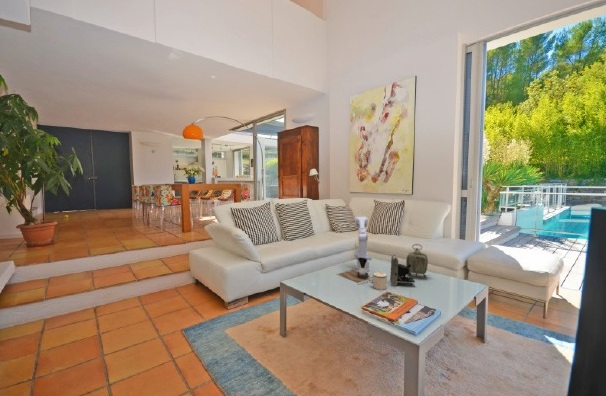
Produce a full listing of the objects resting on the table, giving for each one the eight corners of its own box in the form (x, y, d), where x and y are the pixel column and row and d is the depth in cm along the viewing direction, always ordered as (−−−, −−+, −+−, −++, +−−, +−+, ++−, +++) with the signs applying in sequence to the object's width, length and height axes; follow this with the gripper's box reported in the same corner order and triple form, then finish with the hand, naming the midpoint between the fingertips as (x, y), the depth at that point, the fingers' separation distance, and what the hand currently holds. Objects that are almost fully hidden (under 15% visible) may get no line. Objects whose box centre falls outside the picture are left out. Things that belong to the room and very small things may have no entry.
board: (352, 271, 221) (352, 269, 221) (374, 279, 204) (374, 277, 204) (336, 276, 211) (336, 274, 211) (357, 284, 193) (357, 282, 193)
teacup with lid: (386, 285, 192) (386, 269, 191) (387, 290, 183) (387, 273, 182) (368, 284, 195) (368, 267, 194) (368, 289, 186) (368, 272, 185)
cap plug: (362, 275, 208) (362, 266, 208) (367, 277, 204) (367, 267, 204) (358, 276, 205) (358, 267, 205) (362, 278, 202) (362, 269, 201)
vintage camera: (415, 288, 187) (416, 259, 186) (391, 286, 190) (392, 257, 189) (412, 283, 197) (413, 256, 196) (389, 281, 200) (391, 254, 199)
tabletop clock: (427, 276, 208) (428, 244, 207) (426, 280, 200) (427, 246, 199) (407, 273, 215) (407, 242, 213) (405, 277, 207) (406, 244, 205)
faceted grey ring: (362, 274, 210) (362, 271, 210) (370, 277, 204) (370, 273, 204) (355, 276, 206) (355, 273, 206) (363, 279, 199) (363, 276, 199)
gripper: (351, 248, 207) (351, 266, 208) (366, 252, 195) (366, 271, 196) (358, 247, 211) (358, 264, 212) (373, 251, 199) (373, 269, 200)
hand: (362, 267), depth 204 cm, fingers closed, pressing on cap plug
